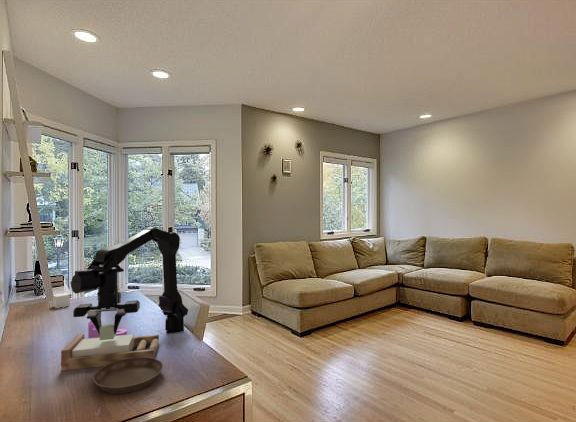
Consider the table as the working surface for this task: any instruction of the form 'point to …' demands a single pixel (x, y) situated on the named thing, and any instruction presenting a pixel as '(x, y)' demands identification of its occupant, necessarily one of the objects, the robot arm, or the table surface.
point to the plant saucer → (128, 374)
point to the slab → (103, 346)
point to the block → (107, 331)
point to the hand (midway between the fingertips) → (108, 334)
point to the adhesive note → (61, 300)
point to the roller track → (106, 359)
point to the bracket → (94, 333)
